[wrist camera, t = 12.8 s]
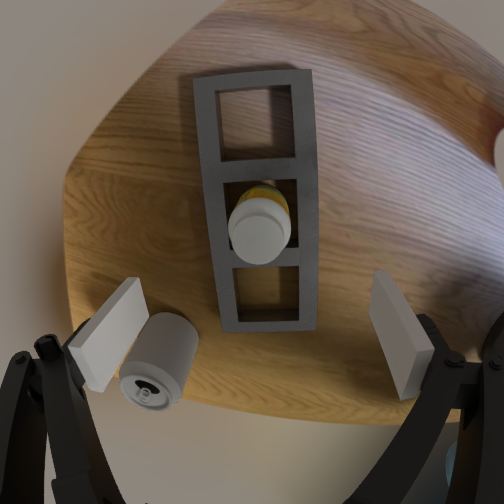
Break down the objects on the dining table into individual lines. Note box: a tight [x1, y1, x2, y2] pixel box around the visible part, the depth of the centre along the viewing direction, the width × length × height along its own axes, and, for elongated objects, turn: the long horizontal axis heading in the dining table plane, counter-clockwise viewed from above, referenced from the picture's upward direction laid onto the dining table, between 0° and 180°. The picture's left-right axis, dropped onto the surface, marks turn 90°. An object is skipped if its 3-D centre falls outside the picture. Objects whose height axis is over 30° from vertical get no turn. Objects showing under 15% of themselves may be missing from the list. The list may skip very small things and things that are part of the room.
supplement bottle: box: [228, 185, 291, 265], centre depth 28 cm, size 5×5×10 cm
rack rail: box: [193, 69, 319, 332], centre depth 31 cm, size 11×28×2 cm, turn 4°
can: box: [119, 312, 199, 412], centre depth 34 cm, size 8×8×12 cm
